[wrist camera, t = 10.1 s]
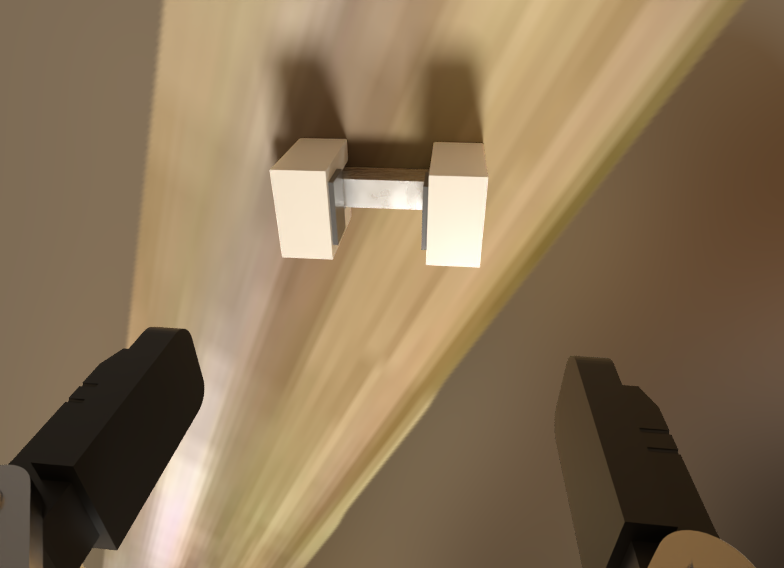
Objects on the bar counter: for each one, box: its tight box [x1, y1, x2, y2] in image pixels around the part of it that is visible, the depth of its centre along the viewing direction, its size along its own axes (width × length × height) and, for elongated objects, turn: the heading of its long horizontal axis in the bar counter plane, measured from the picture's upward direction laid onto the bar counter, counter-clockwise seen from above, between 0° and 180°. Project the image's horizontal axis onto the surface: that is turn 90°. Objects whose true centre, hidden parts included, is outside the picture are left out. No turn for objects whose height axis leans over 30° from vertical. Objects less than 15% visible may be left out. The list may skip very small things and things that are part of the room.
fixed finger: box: [421, 142, 488, 267], centre depth 39 cm, size 7×4×8 cm, turn 0°
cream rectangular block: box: [270, 138, 351, 259], centre depth 40 cm, size 7×4×8 cm, turn 0°
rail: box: [342, 167, 430, 210], centre depth 42 cm, size 2×17×3 cm, turn 90°
